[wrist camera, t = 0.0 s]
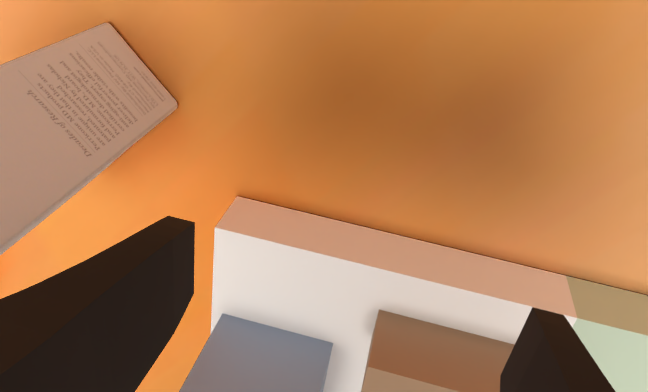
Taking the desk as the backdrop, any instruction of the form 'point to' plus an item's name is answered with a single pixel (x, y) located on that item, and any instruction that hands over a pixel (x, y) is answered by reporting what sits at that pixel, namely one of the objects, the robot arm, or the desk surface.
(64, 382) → the robot arm
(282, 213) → the deck
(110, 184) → the desk surface
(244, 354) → the block
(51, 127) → the skincare box
